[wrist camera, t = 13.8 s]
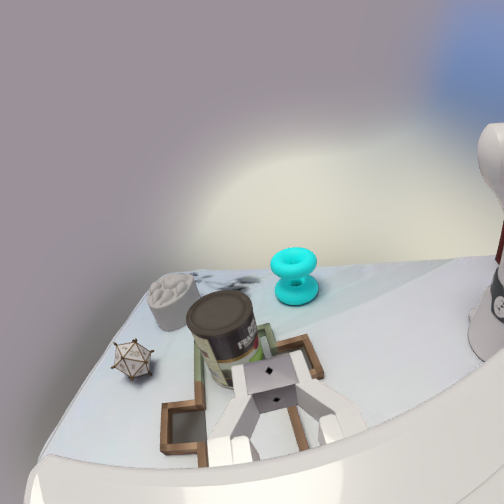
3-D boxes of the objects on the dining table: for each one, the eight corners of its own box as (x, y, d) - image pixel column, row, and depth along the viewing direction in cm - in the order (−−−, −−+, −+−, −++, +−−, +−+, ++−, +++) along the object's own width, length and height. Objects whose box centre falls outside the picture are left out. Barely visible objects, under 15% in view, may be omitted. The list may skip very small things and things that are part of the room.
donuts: (265, 270, 55) (273, 246, 63) (272, 307, 59) (279, 281, 68) (315, 268, 52) (316, 244, 60) (317, 307, 56) (319, 280, 65)
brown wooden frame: (299, 322, 54) (298, 315, 53) (366, 480, 23) (368, 477, 22) (170, 350, 52) (166, 344, 51) (167, 515, 22) (161, 513, 21)
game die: (154, 375, 51) (162, 336, 50) (145, 397, 43) (153, 356, 42) (116, 361, 50) (122, 322, 49) (102, 381, 41) (106, 338, 41)
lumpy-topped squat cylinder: (206, 297, 67) (196, 268, 63) (186, 333, 56) (172, 303, 52) (171, 296, 70) (160, 269, 66) (149, 329, 59) (134, 301, 55)
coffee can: (273, 349, 49) (261, 291, 42) (255, 394, 40) (236, 340, 34) (224, 342, 52) (204, 287, 46) (202, 382, 44) (173, 328, 38)
